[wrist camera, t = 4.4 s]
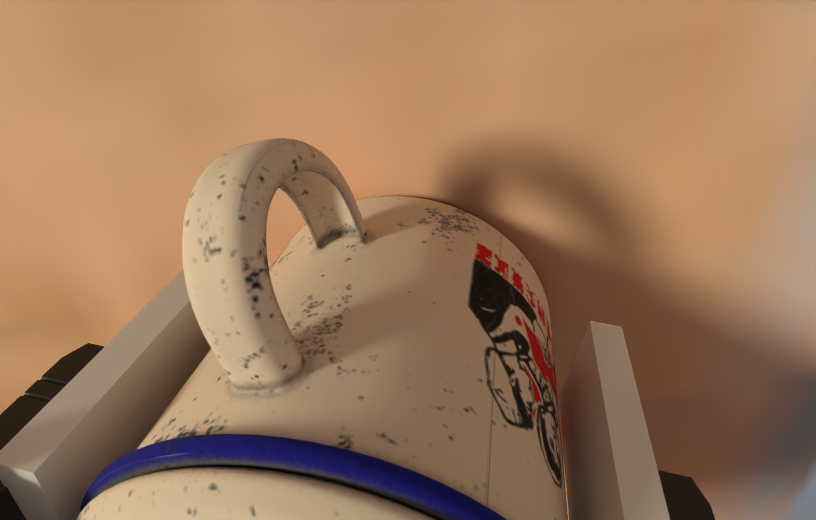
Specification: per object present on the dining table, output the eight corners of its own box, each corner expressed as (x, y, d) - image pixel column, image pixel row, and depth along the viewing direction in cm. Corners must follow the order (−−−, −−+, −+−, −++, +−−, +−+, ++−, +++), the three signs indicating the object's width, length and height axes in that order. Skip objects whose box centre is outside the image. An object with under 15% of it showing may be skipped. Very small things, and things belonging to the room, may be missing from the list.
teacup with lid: (570, 409, 17) (641, 1040, 7) (324, 416, 19) (135, 890, 10) (525, 30, 11) (587, 703, 1) (181, 111, 14) (-647, 544, 4)
